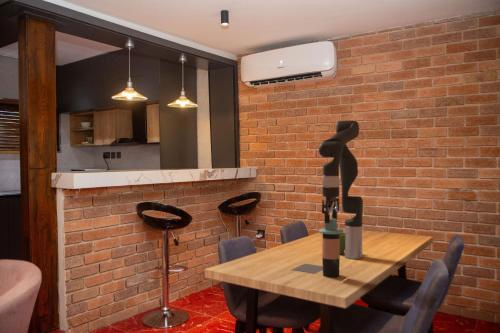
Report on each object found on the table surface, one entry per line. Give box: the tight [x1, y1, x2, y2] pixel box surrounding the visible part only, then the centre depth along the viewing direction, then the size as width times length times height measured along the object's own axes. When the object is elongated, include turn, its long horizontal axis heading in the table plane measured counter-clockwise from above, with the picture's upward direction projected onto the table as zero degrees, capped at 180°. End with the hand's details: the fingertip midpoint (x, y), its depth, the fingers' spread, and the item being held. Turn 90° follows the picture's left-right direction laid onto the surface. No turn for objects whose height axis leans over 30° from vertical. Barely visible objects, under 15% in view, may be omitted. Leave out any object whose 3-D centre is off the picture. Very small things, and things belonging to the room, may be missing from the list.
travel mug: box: [321, 234, 341, 279], centre depth 184 cm, size 8×8×20 cm
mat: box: [291, 263, 323, 275], centre depth 196 cm, size 15×12×1 cm
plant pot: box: [339, 232, 345, 255], centre depth 232 cm, size 12×12×11 cm
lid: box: [318, 217, 345, 235], centre depth 184 cm, size 11×11×6 cm
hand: (330, 222), depth 184 cm, fingers open, 8 cm apart
